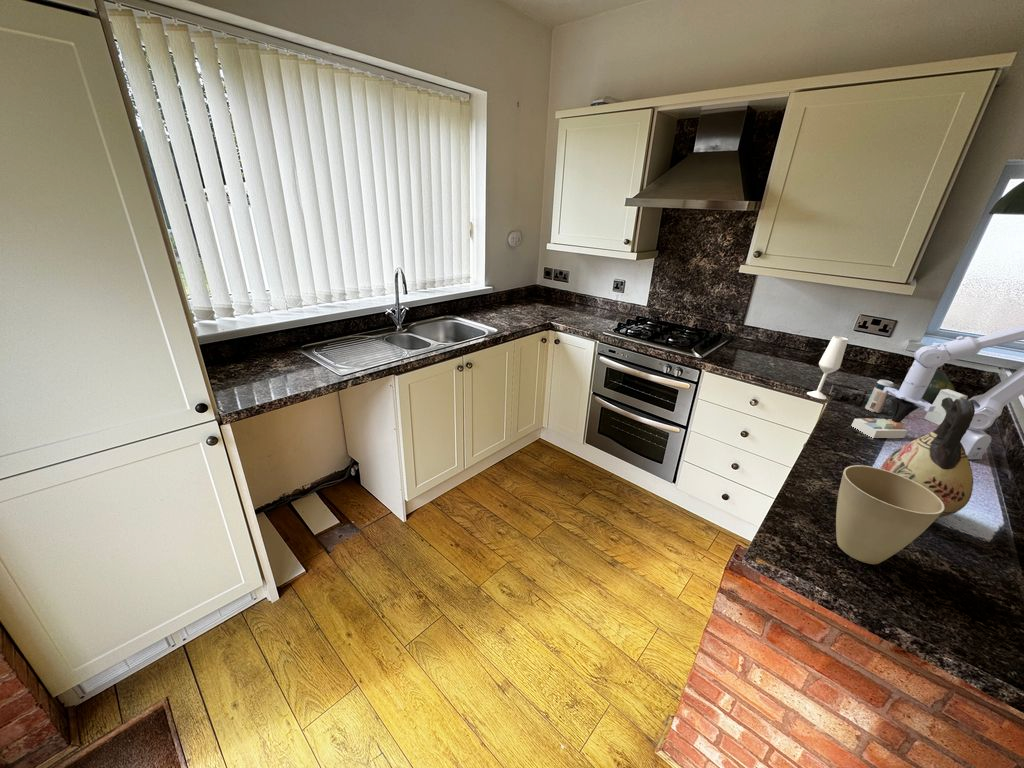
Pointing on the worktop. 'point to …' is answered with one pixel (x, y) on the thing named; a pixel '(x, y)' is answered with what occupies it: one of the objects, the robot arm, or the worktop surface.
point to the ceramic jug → (940, 458)
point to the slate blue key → (874, 425)
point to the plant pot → (881, 513)
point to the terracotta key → (896, 424)
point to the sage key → (885, 423)
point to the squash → (937, 386)
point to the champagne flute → (830, 361)
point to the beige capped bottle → (878, 396)
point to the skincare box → (939, 411)
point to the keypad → (877, 433)
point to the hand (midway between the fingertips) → (896, 421)
